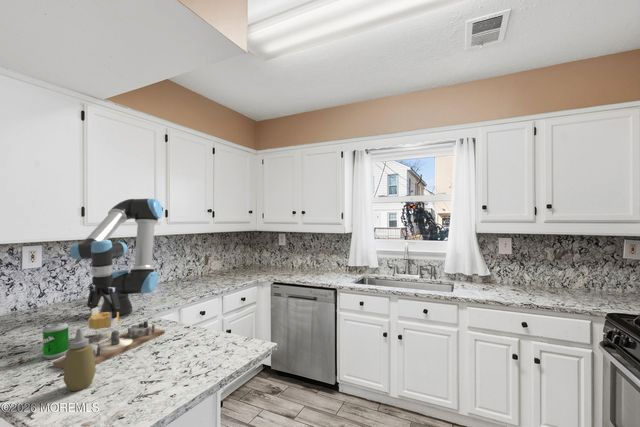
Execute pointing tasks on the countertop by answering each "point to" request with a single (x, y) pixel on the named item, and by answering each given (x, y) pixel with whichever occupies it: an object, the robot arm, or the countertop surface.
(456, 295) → the countertop surface
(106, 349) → the gear board
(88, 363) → the squeeze bottle
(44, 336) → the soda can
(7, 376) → the countertop surface
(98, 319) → the ochre gear
